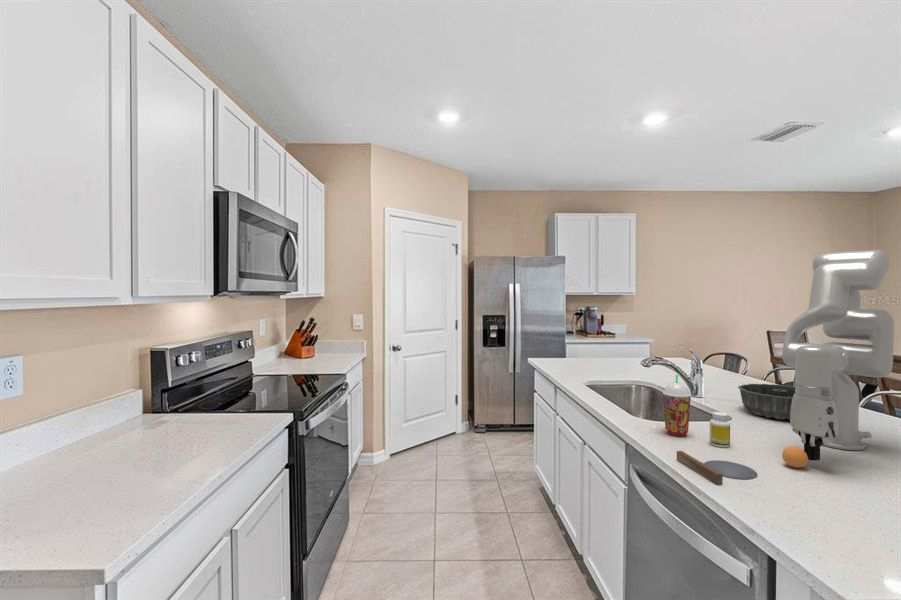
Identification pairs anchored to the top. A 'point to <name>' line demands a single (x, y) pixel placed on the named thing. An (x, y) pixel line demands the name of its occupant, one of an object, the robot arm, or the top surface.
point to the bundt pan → (768, 399)
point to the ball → (795, 456)
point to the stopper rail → (700, 468)
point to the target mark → (732, 469)
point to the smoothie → (676, 409)
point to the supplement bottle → (720, 430)
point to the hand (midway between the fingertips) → (811, 459)
